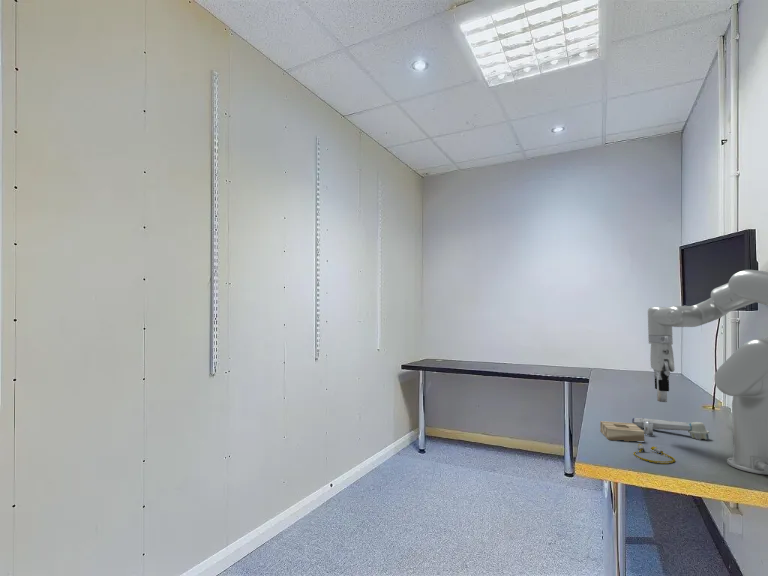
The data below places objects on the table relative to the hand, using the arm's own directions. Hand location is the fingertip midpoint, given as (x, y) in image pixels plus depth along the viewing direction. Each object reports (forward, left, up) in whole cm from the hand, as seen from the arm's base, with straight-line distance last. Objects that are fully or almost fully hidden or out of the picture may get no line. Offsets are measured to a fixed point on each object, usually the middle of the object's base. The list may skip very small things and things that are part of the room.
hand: (661, 389), depth 156 cm
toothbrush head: (+15, -7, -19) cm, 25 cm away
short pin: (+9, +2, -19) cm, 21 cm away
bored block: (+3, +13, -19) cm, 23 cm away
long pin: (0, 0, -4) cm, 4 cm away
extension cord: (-19, +9, -20) cm, 29 cm away
